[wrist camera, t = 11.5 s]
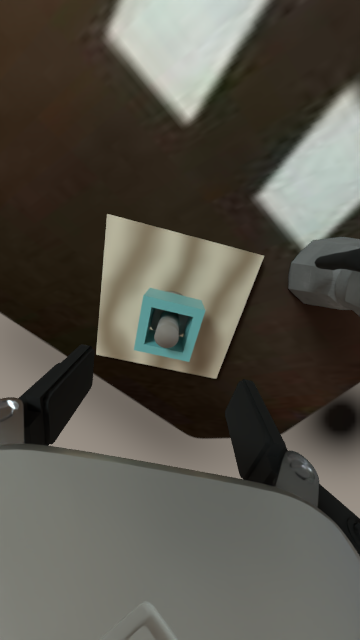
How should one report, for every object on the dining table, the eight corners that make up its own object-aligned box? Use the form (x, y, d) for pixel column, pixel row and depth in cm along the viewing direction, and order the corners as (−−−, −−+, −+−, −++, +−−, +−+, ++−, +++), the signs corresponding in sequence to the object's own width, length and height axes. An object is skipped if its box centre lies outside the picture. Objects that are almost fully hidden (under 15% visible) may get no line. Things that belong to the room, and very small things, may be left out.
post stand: (259, 255, 24) (309, 258, 15) (214, 373, 31) (228, 425, 22) (111, 216, 22) (61, 190, 13) (100, 349, 29) (62, 395, 20)
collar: (201, 300, 22) (205, 310, 18) (187, 344, 24) (189, 362, 20) (150, 287, 21) (143, 295, 17) (141, 334, 23) (133, 350, 20)
